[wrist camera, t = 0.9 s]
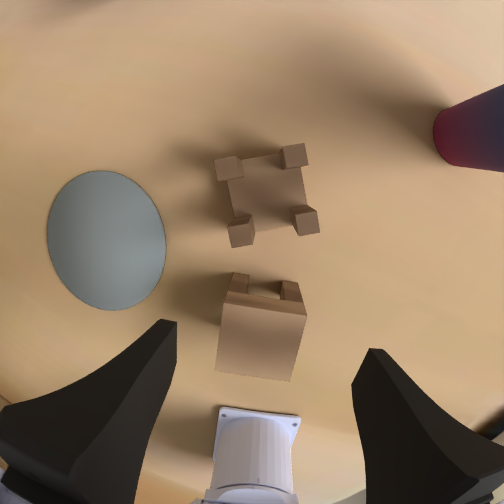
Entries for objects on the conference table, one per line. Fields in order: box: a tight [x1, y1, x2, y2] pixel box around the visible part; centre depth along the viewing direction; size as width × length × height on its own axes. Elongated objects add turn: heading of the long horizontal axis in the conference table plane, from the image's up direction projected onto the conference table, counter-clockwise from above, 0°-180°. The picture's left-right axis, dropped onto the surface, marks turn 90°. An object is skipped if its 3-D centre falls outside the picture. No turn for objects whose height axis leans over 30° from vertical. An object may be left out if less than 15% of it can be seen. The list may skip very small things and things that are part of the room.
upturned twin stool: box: [214, 143, 320, 248], centre depth 20 cm, size 5×5×6 cm
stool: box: [215, 273, 307, 382], centre depth 22 cm, size 5×5×6 cm
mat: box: [47, 171, 166, 311], centre depth 24 cm, size 12×12×1 cm
